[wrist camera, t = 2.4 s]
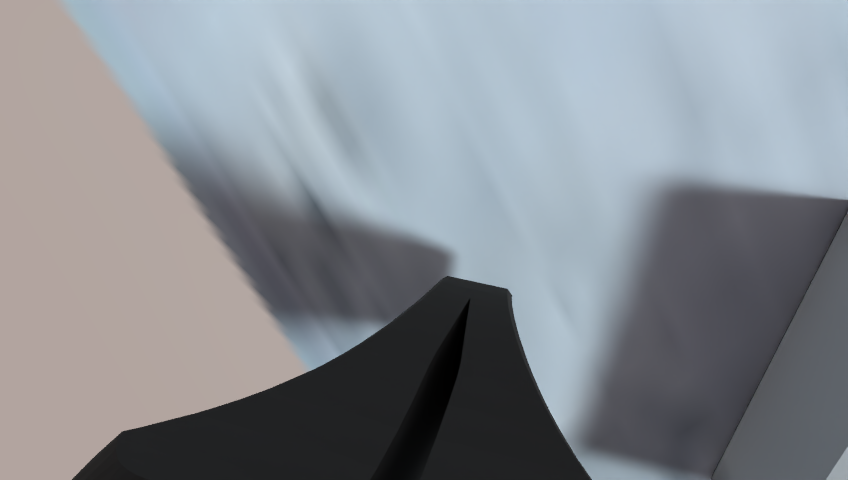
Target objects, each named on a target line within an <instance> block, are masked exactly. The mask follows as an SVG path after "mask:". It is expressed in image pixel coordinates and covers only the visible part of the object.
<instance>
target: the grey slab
mask: <svg viewBox="0 0 848 480" xmlns="http://www.w3.org/2000/svg"><path fill="white" fill-rule="evenodd" d="M711 479H712V480H848V212H847V214H846V216H845V218H844V220H843V222H842V224H841V226H840V228H839V230H838V232H837V234H836V235H835V237H834V239H833V241H832V243H831V245H830V247H829V249H828V251H827V253H826V255H825V257H824V259H823V261H822V263H821V265H820V267H819V269H818V271H817V273H816V275H815V277H814V278H813V280H812V282H811V284H810V286H809V288H808V290H807V292H806V294H805V296H804V298H803V300H802V302H801V304H800V306H799V308H798V310H797V312H796V314H795V316H794V318H793V320H792V321H791V323H790V325H789V327H788V329H787V331H786V333H785V335H784V337H783V339H782V341H781V343H780V345H779V347H778V349H777V351H776V353H775V355H774V357H773V359H772V361H771V363H770V364H769V366H768V368H767V370H766V372H765V374H764V376H763V378H762V380H761V382H760V384H759V386H758V388H757V390H756V392H755V394H754V396H753V398H752V400H751V402H750V404H749V405H748V407H747V409H746V411H745V413H744V415H743V417H742V419H741V421H740V423H739V425H738V427H737V429H736V431H735V433H734V435H733V437H732V439H731V441H730V443H729V445H728V447H727V448H726V450H725V452H724V454H723V456H722V458H721V460H720V462H719V464H718V466H717V468H716V470H715V472H714V474H713V476H712V478H711Z"/></svg>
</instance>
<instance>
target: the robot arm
mask: <svg viewBox="0 0 848 480" xmlns="http://www.w3.org/2000/svg"><path fill="white" fill-rule="evenodd" d="M72 480H592V479H591V478H590V476H589V475H588V473H587V472H586V471H585V469H584V468H583V466H582V465H581V464H580V462H579V461H578V459H577V458H576V456H575V454H574V453H573V451H572V449H571V448H570V446H569V445H568V443H567V441H566V440H565V438H564V436H563V435H562V433H561V431H560V429H559V428H558V426H557V424H556V422H555V420H554V418H553V417H552V415H551V413H550V411H549V409H548V407H547V405H546V403H545V401H544V399H543V397H542V395H541V392H540V390H539V388H538V386H537V383H536V381H535V379H534V376H533V374H532V372H531V369H530V367H529V364H528V361H527V359H526V356H525V353H524V350H523V347H522V344H521V341H520V338H519V334H518V331H517V327H516V323H515V319H514V314H513V308H512V295H511V293H510V292H509V290H508V289H505V288H500V287H496V286H491V285H487V284H482V283H477V282H473V281H468V280H463V279H459V278H454V277H449V276H447V277H445V278H443V279H442V280H441V281H439V282H438V283H437V284H436V285H435V286H434V287H433V288H432V289H431V290H430V291H429V292H428V293H427V294H425V295H424V296H423V297H422V298H421V299H420V300H418V301H417V302H416V303H415V304H414V305H412V306H411V307H410V308H409V309H407V310H406V311H405V312H404V313H402V314H401V315H400V316H398V317H397V318H396V319H395V320H393V321H392V322H391V323H389V324H388V325H387V326H385V327H384V328H382V329H381V330H379V331H378V332H376V333H375V334H373V335H372V336H370V337H369V338H368V339H366V340H365V341H363V342H362V343H360V344H359V345H357V346H355V347H354V348H352V349H350V350H349V351H347V352H345V353H344V354H342V355H340V356H338V357H337V358H335V359H333V360H331V361H329V362H327V363H326V364H324V365H322V366H320V367H318V368H316V369H314V370H312V371H309V372H307V373H305V374H302V375H300V376H298V377H296V378H293V379H291V380H289V381H286V382H284V383H282V384H279V385H277V386H275V387H273V388H270V389H267V390H265V391H262V392H259V393H257V394H254V395H251V396H249V397H246V398H243V399H240V400H237V401H234V402H231V403H228V404H225V405H222V406H218V407H216V408H212V409H209V410H205V411H202V412H199V413H195V414H191V415H187V416H183V417H180V418H176V419H172V420H168V421H164V422H160V423H156V424H152V425H148V426H144V427H140V428H136V429H132V430H127V431H123V432H121V433H120V434H119V435H118V436H117V437H116V438H115V439H114V440H112V441H111V442H110V443H109V444H108V445H107V446H106V447H105V448H104V449H103V450H101V451H100V452H99V453H98V454H97V455H96V456H95V457H94V458H93V459H92V460H91V461H90V462H89V463H88V464H87V465H86V466H85V467H84V468H83V469H82V470H81V471H80V472H79V473H78V474H77V475H76V476H75V477H74V478H73V479H72Z"/></svg>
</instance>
